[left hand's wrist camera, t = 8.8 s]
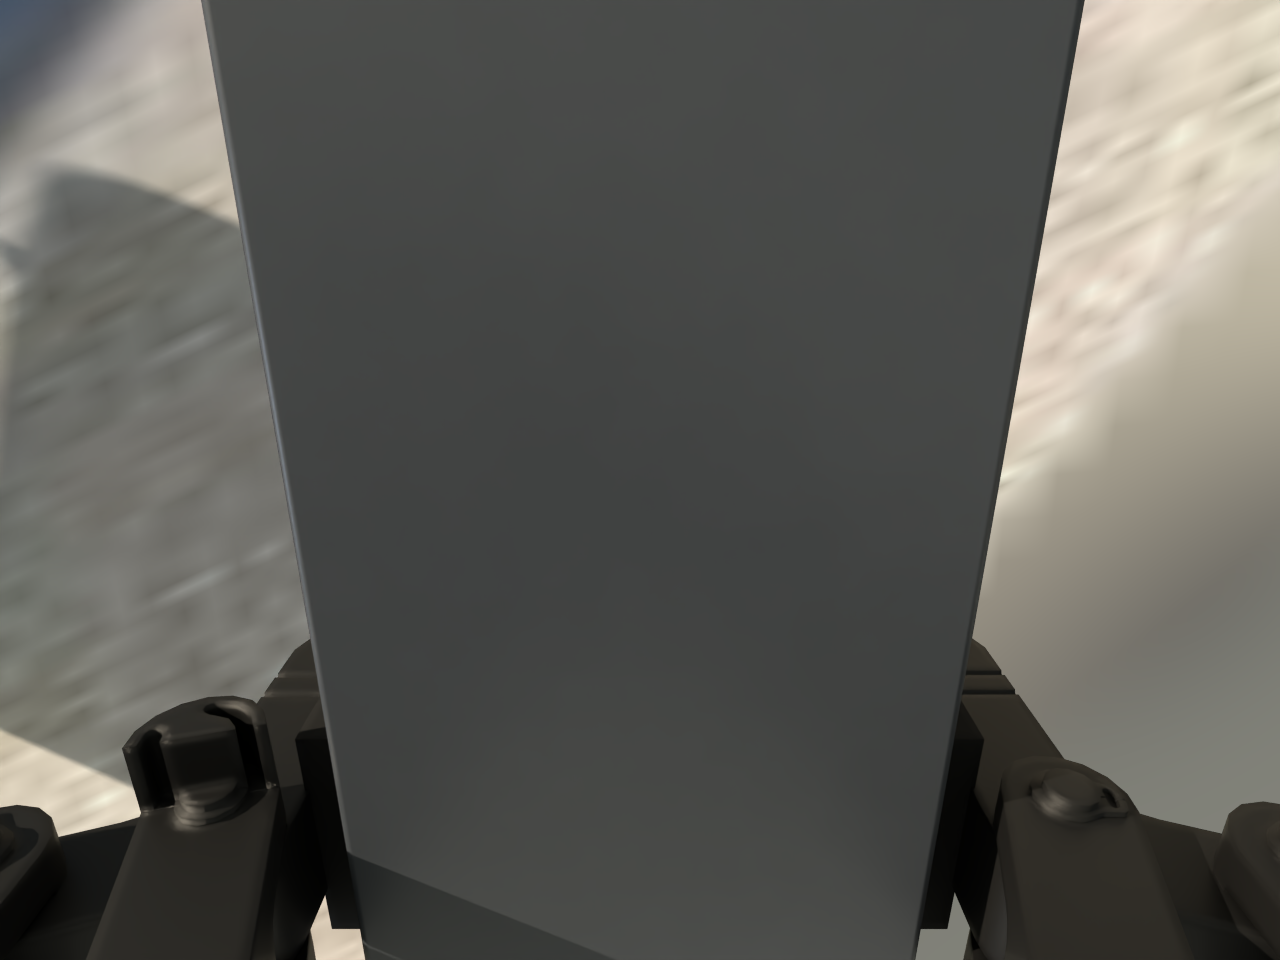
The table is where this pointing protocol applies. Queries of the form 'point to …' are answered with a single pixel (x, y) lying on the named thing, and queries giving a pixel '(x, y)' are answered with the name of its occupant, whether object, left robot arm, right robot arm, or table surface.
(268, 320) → the bar
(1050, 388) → the table surface
